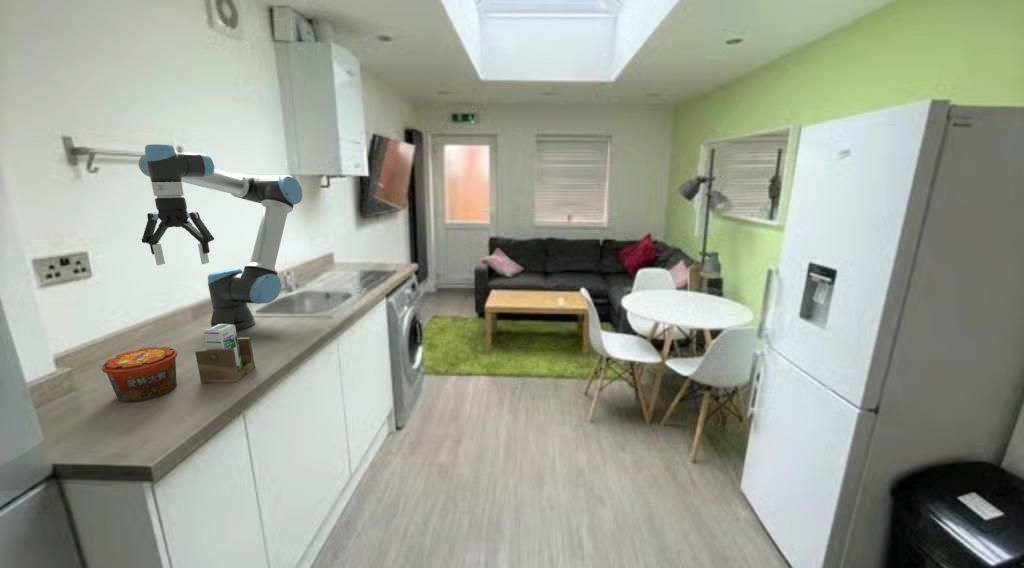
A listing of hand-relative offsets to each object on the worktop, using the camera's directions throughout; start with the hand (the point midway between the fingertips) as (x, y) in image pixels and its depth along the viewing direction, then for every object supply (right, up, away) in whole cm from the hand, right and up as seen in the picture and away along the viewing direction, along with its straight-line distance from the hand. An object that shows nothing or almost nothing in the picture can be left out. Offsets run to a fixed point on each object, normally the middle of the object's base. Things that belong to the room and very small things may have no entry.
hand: (183, 264), depth 139 cm
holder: (+20, -34, -8) cm, 40 cm away
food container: (+4, -37, -18) cm, 41 cm away
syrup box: (+20, -33, -8) cm, 39 cm away
